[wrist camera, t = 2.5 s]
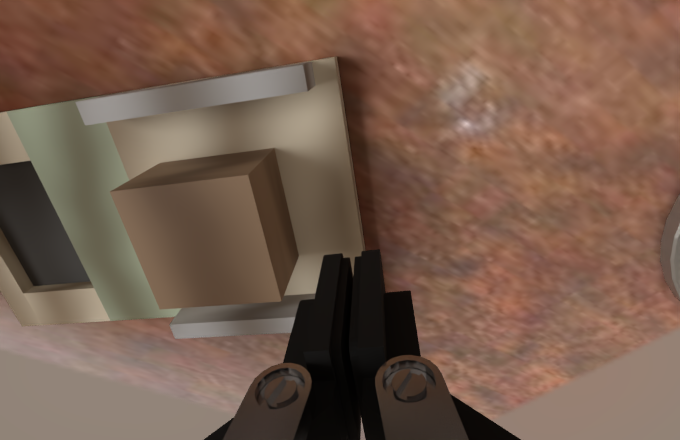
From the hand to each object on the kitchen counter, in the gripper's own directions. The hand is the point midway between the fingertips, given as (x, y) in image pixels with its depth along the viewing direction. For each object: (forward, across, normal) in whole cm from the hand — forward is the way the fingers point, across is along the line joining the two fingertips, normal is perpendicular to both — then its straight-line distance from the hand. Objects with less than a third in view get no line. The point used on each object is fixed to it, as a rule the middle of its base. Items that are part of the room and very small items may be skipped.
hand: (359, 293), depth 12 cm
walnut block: (+8, +7, 0) cm, 11 cm away
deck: (+10, +12, 0) cm, 15 cm away
